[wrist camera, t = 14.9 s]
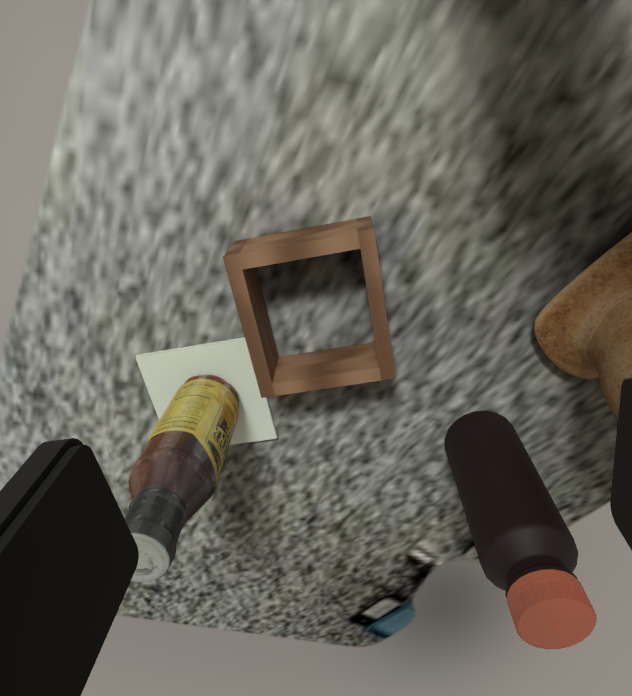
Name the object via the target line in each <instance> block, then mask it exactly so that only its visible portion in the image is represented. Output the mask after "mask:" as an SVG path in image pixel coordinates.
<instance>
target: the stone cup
mask: <svg viewBox="0 0 632 696" xmlns="http://www.w3.org/2000/svg"><path fill="white" fill-rule="evenodd" d="M534 332H535V335H536V338H537V341H538V343H539V345H540V346H541V348H542V349H543V351H544V353H545V354H546V355H547V356H548V358H549V359H550V360H551V361H552V362H553V363H554V364H555V365H557V366H558V367H559V368H560V369H562V370H563V371H565V372H566V373H568V374H571V375H574V376H577V377H580V378H584V379H594V378H599V381H600V386H601V389H602V392H603V395H604V398H605V400H606V402H607V404H608V406H609V408H610V410H611V412H612V413H613V414H614V416H615V417H616V418H617V420H618V416H619V405H620V394H621V386H622V382H623V381H624V380H625V379H627V378H632V232H631V233H630V234H629V235H627V236H626V237H625V238H624V239H622V240H621V241H620V242H618V243H617V244H616V245H615V246H613V247H612V248H611V249H609V250H608V251H607V252H606V253H604V254H603V255H602V256H601V257H600V258H598V259H597V260H596V261H595V262H593V263H592V264H591V265H590V266H588V267H587V268H586V269H585V270H584V271H582V272H581V273H580V274H579V275H578V276H577V277H576V278H574V279H573V280H572V281H571V282H570V283H569V284H568V285H567V286H565V287H564V288H563V289H562V290H561V291H560V292H559V293H558V294H557V295H555V296H554V297H553V298H552V299H551V300H550V301H549V302H548V303H547V304H546V306H545V307H544V308H543V309H542V311H541V312H540V313H539V314H538V316H537V317H536V319H535V323H534Z"/></svg>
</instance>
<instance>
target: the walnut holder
mask: <svg viewBox="0 0 632 696" xmlns="http://www.w3.org/2000/svg"><path fill="white" fill-rule="evenodd" d="M356 249H360V250H361V256H362V262H363V269H364V275H365V281H366V288H367V294H368V300H369V307H370V313H371V319H372V326H373V332H374V338H375V342H374V343H367V344H361V345H354V346H348V347H341V348H335V349H328V350H322V351H316V352H309V353H303V354H296V355H290V356H283V357H278V353H277V349H276V345H275V341H274V337H273V333H272V329H271V325H270V321H269V317H268V313H267V309H266V305H265V301H264V297H263V293H262V289H261V285H260V281H259V277H258V273H257V269H256V267H260V266H266V265H272V264H277V263H283V262H289V261H294V260H300V259H305V258H311V257H317V256H322V255H328V254H334V253H339V252H345V251H350V250H356ZM223 259H224V263H225V267H226V270H227V274H228V278H229V281H230V285H231V289H232V292H233V296H234V299H235V303H236V307H237V310H238V314H239V318H240V321H241V325H242V329H243V332H244V336H245V340H246V343H247V347H248V351H249V354H250V358H251V362H252V365H253V369H254V373H255V376H256V380H257V383H258V387H259V391H260V394H261V398H265V397H272V396H279V395H286V394H292V393H299V392H306V391H313V390H320V389H327V388H333V387H340V386H347V385H354V384H361V383H368V382H374V381H381V380H388V379H395V378H396V377H395V370H394V363H393V356H392V349H391V342H390V335H389V328H388V321H387V314H386V308H385V301H384V294H383V287H382V280H381V273H380V266H379V259H378V252H377V245H376V238H375V231H374V227H373V223H372V220H371V216H369V217H363V218H358V219H353V220H347V221H342V222H336V223H331V224H326V225H320V226H315V227H309V228H304V229H299V230H293V231H288V232H282V233H277V234H271V235H266V236H261V237H255V238H250V239H244V240H239V241H235V242H234V243H233V245H232V246H231V247H230V249H229V250H228V251H227V253H226V254H225V255H224V256H223Z"/></svg>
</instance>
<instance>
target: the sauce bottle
mask: <svg viewBox="0 0 632 696" xmlns="http://www.w3.org/2000/svg"><path fill="white" fill-rule="evenodd" d="M238 417H239V399H238V396H237V393H236V390H235V389H234V388H233V386H232V385H231V384H229V383H227V382H226V381H225V380H223V379H222V378H220V377H218V376H215V375H198V376H193V377H191V378H189V379H188V380H187V381H186V382H185V383H184V384H183V385H182V386H181V387H180V388H179V389H178V390H177V392H176V393H175V395H174V397H173V398H172V400H171V402H170V403H169V405H168V407H167V408H166V410H165V412H164V413H163V415H162V417H161V418H160V420H159V422H158V423H157V425H156V427H155V428H154V430H153V432H152V433H151V435H150V437H149V438H148V440H147V442H146V443H145V445H144V447H143V449H142V452H141V455H140V457H139V458H138V460H137V461H136V463H135V464H134V466H133V469H132V471H131V475H130V479H129V492H130V494H131V499H132V501H131V503H130V505H129V509H128V512H127V514H126V516H125V518H124V519H125V521H126V523H127V525H128V527H129V529H130V532H131V534H132V536H133V538H134V540H135V542H136V544H137V547H138V552H139V559H138V565H137V568H136V570H135V572H134V575H133V577H132V579H131V581H134V582H149V581H152V580H155V579H157V578H160V577H161V576H163V575H164V574H165V573H166V572H167V571H168V569H169V568H170V565H171V563H172V561H173V558H174V556H175V553H176V543H177V541H178V538H179V534H180V532H181V529H182V528H183V526H184V524H185V523H186V522H187V521H188V520H189V519H190V518H191V517H192V516H193V515H194V514H195V513H196V512H197V511H198V510H199V509H200V508H201V507H202V506H203V505H204V504H205V503H206V502H207V500H208V499H209V498H210V497H211V496H212V494H213V493H214V490H215V487H216V484H217V481H218V478H219V475H220V472H221V469H222V467H223V463H224V461H225V457H226V454H227V451H228V449H229V445H230V442H231V439H232V436H233V433H234V430H235V426H236V423H237V420H238Z"/></svg>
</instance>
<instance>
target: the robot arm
mask: <svg viewBox="0 0 632 696" xmlns="http://www.w3.org/2000/svg"><path fill="white" fill-rule="evenodd" d="M611 511H612V515H613V518H614V521H615V523H616V525H617V527H618V529H619V530H620V532H621V533H622V535H623V537H624V538H625V540H626V542H627V543H628V545H629V546H630V548H631V550H632V378H627V379H625V380H624V381H623V382H622V386H621V394H620V405H619V416H618V426H617V437H616V448H615V458H614V469H613V480H612V490H611ZM138 559H139V552H138V547H137V544H136V542H135V540H134V538H133V536H132V534H131V532H130V529H129V527H128V525H127V523H126V521H125V519H124V517H123V515H122V513H121V510H120V508H119V506H118V504H117V502H116V500H115V498H114V496H113V494H112V491H111V489H110V487H109V485H108V483H107V481H106V479H105V477H104V475H103V472H102V470H101V468H100V466H99V464H98V462H97V460H96V458H95V456H94V453H93V451H92V450H91V448H90V447H89V446H87V445H83V444H82V442H81V441H79V440H78V439H74V438H72V439H64V440H56V441H48V442H44V443H42V444H41V445H40V446H38V448H37V449H36V450H35V451H34V452H33V453H32V455H31V456H30V457H29V458H28V459H27V460H26V462H25V463H24V464H23V465H22V466H21V468H20V469H19V470H18V471H17V472H16V473H15V475H14V476H13V477H12V478H11V479H10V480H9V482H8V483H7V484H6V485H5V486H4V487H3V489H2V490H1V491H0V696H80V695H81V693H82V691H83V689H84V686H85V684H86V682H87V680H88V677H89V675H90V673H91V670H92V668H93V666H94V664H95V661H96V659H97V657H98V654H99V652H100V650H101V647H102V645H103V643H104V640H105V638H106V636H107V634H108V632H109V629H110V627H111V625H112V622H113V620H114V618H115V616H116V613H117V611H118V609H119V606H120V604H121V602H122V600H123V597H124V595H125V593H126V591H127V588H128V586H129V584H130V581H131V579H132V577H133V575H134V572H135V570H136V568H137V565H138Z"/></svg>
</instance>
